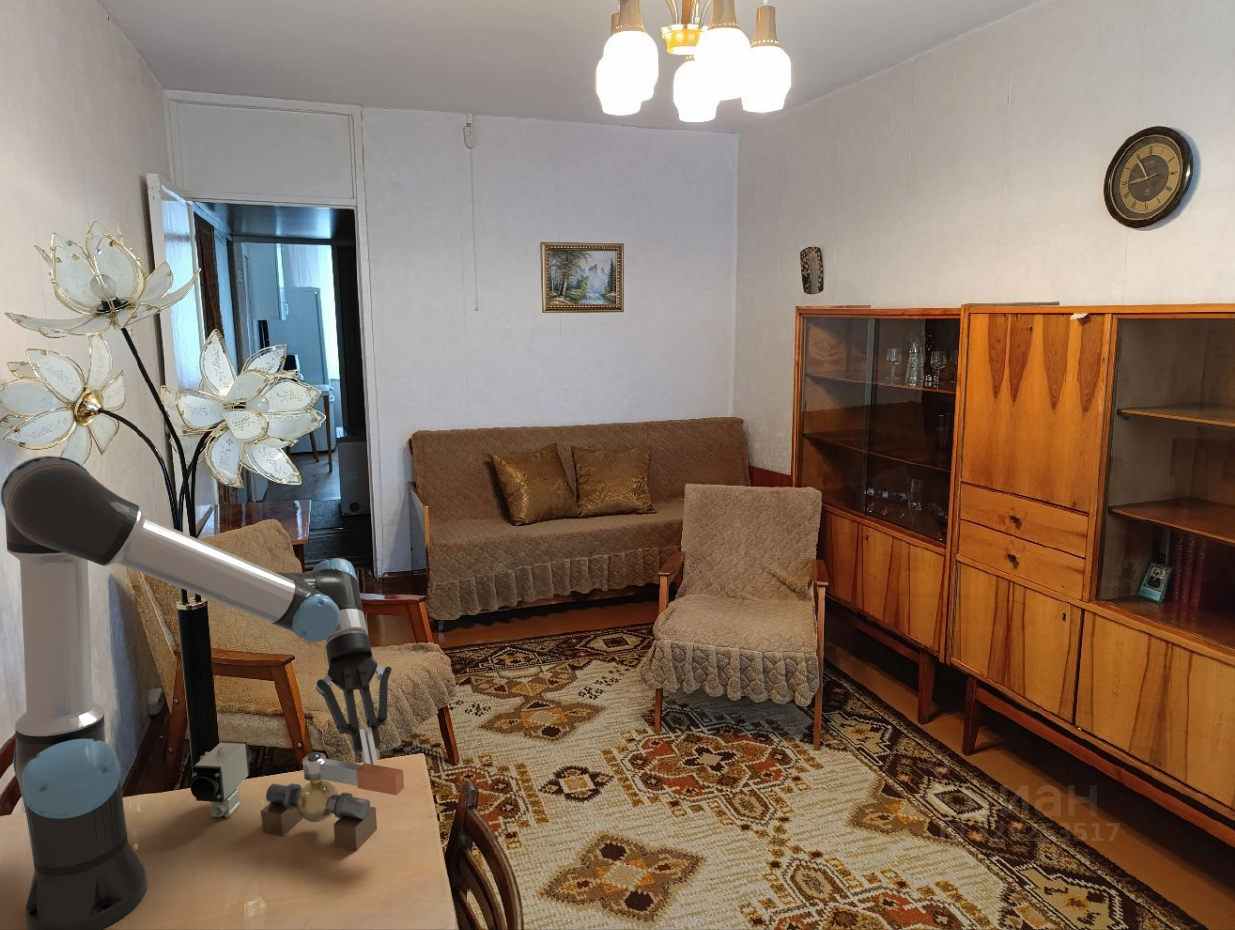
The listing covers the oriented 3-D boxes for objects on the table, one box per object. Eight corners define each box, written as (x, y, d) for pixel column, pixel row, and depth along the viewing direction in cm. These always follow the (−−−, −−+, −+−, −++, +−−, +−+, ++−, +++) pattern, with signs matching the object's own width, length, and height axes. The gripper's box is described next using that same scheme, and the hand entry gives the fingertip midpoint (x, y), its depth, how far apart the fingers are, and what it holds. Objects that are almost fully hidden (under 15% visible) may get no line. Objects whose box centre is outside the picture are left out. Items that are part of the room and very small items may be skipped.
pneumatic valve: (256, 793, 154) (250, 732, 152) (220, 832, 142) (213, 766, 140) (227, 792, 154) (221, 730, 152) (189, 830, 143) (182, 765, 141)
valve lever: (299, 780, 140) (297, 758, 139) (313, 768, 143) (311, 748, 142) (394, 797, 134) (392, 775, 134) (406, 785, 138) (405, 764, 137)
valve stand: (261, 833, 142) (256, 779, 140) (287, 811, 148) (282, 759, 146) (355, 851, 137) (351, 795, 135) (378, 828, 143) (374, 774, 141)
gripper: (382, 642, 159) (408, 766, 147) (306, 655, 152) (327, 786, 141) (387, 624, 153) (415, 751, 142) (308, 637, 147) (331, 771, 135)
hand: (371, 768), depth 141 cm, fingers closed
